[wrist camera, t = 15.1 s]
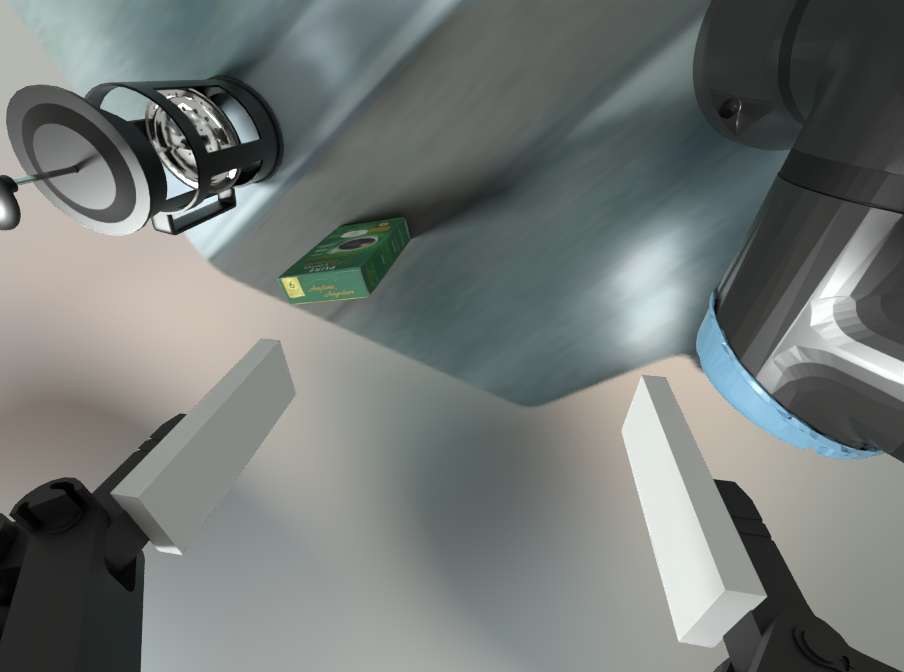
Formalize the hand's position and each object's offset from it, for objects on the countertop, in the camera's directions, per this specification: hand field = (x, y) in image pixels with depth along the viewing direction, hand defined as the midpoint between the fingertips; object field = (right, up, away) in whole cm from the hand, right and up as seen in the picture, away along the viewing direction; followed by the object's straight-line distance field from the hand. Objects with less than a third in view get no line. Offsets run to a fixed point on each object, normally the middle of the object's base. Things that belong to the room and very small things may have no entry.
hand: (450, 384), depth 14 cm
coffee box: (-8, +13, +28) cm, 32 cm away
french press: (-21, +22, +25) cm, 39 cm away
